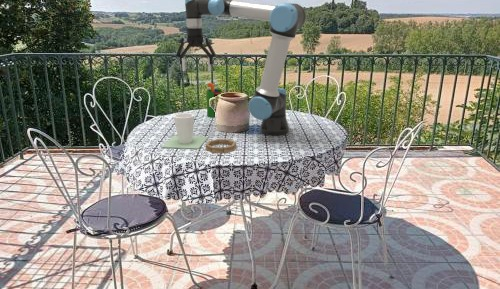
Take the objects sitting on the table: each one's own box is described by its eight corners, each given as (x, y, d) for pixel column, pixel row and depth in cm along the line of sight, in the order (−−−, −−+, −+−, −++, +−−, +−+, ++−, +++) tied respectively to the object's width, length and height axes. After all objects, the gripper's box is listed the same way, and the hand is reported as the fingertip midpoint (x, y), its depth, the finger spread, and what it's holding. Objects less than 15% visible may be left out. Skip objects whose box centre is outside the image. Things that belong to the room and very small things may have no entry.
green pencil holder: (219, 118, 236) (217, 84, 229) (205, 117, 237) (203, 84, 231) (223, 114, 245) (222, 82, 239) (210, 113, 247) (208, 81, 241)
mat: (208, 137, 198) (208, 136, 198) (198, 149, 181) (198, 148, 181) (174, 136, 201) (174, 135, 200) (161, 147, 184) (161, 146, 184)
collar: (237, 144, 188) (237, 139, 187) (232, 153, 175) (232, 148, 174) (210, 143, 190) (210, 138, 189) (203, 152, 177) (203, 147, 176)
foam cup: (186, 145, 185) (184, 119, 180) (171, 142, 189) (169, 116, 185) (199, 140, 192) (197, 114, 188) (184, 137, 197) (183, 112, 193)
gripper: (220, 27, 196) (222, 70, 203) (173, 27, 200) (176, 69, 207) (217, 27, 189) (218, 72, 196) (167, 28, 193) (171, 71, 200)
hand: (196, 70), depth 201 cm, fingers open, 13 cm apart
